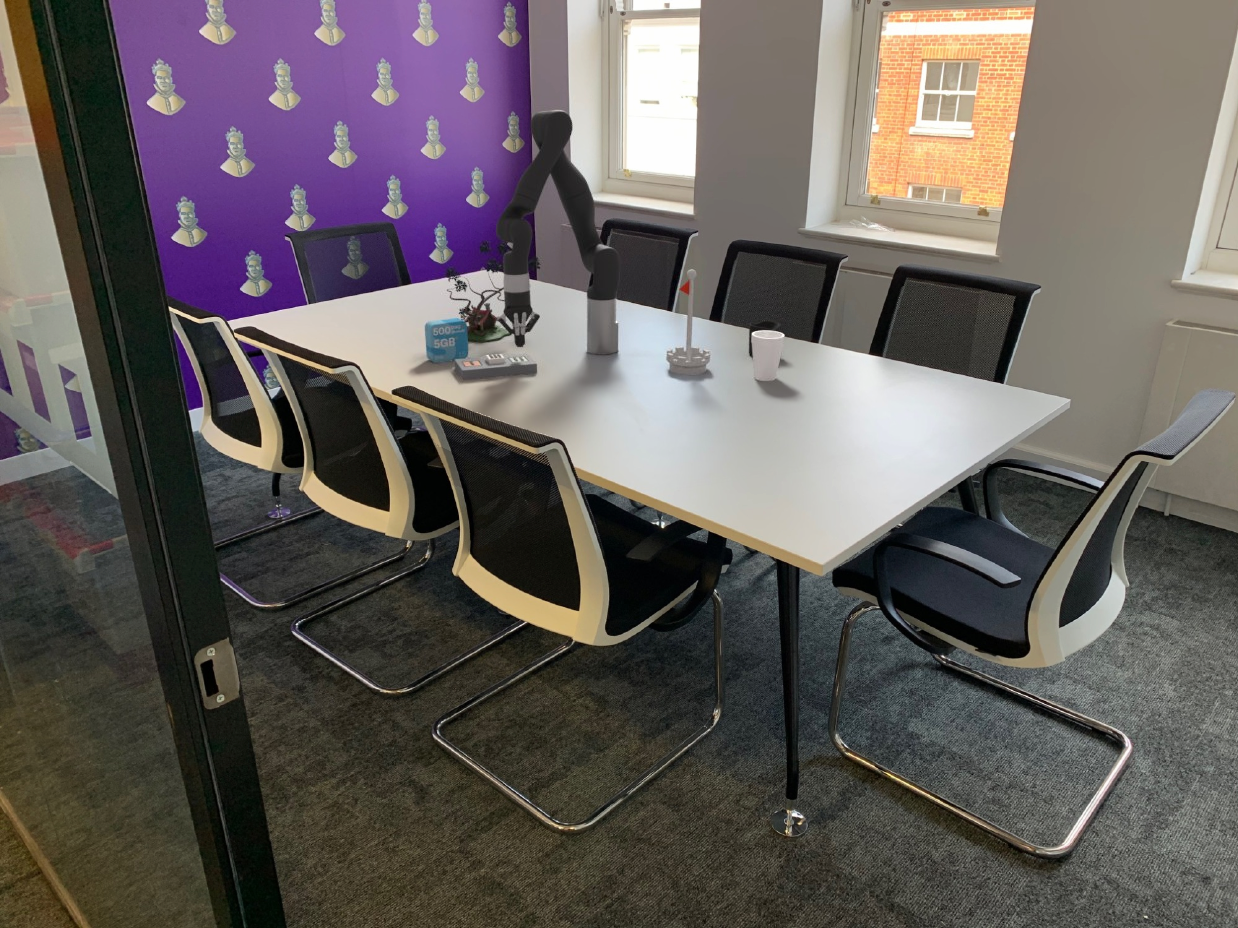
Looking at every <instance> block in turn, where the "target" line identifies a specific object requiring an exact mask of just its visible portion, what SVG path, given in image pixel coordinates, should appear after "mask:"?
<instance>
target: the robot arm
mask: <svg viewBox="0 0 1238 928" xmlns="http://www.w3.org/2000/svg"><path fill="white" fill-rule="evenodd" d="M573 126H574V125H573V120H572V118H571V116H570V115H569V114H568V112H567V111H565V110H562V109H552V110H543V111H538V112H536V113H535V114H534V115H533V116H532V118H531V121H530V131H531V136H532V139H533V140H534V142H535V145H536V146H537V149H538V150H539V151H538V153H537V154H536V156H535V158H534V159H533V160H532V162H531V163H530V164H529V165H528V167H527V168H526V169H525V170H524V172H523V173H522V175H521V177H520V179H519V181H518V182H517V186H516V188H515V191H514V193H513V196H512V199H511V201H509V203H508V204H507V206H506V207H505V208H504V210H503V212H502V213H501V215H500V217H499V218H498V220H497V223H496V228H495V233H496V236H497V238H498V240H500V241H501V242H505V243H509V244H512V247H511V249H512V250H511V251H509V252H508V251H507V252H506V251H505V252H506V253H505V252H504V253H505V254H503V255H502V256H503V258H502V261H503V263H502V264H503V266H504V270H503V273H504V274H503V287H504V289H503V295H504V297H503V298H504V299H503V300H505V301H504V309H503V313H502V314H501V315H500V316H496V317H497V320H498V321H499V323H500V325H501V326H502V327H503V329H506V330H507V331H508V332H509V333H510V335H513V337H514V338H513V339H514V345H515V346H516V348H524V346H525V345H526V336H525V335H526V333H530V332H532V330H533V328H534V326H535V325H536V324H537V322H538V321H539V319H540V317H541V316H540V314H538V313H537V312H535V311H534V310H533V307H532V301H531V281H530V274H529V271H528V270H529V267H528V260H529V259H528V258H529V254H530V251H531V250H530V249H531V245H532V239H533V228H532V226H531V223H530V222H529V220H526V219H525V218H524V217H525V216H528V215H531V214H533V213H534V212H535V211H536V208H537V205H538V203H539V200H540V198H541V195H542V193H543V190H544V187H545V185H546V183H547V180H548V178H549V176H551V179H552V181H553V184H554V186H555V189H556V191H557V194H558V196H559V199H560V203H561V205H562V207H563V210H564V212H565V215H566V217H567V219H568V222H569V224H570V226H571V229H572V231H573V234H574V237H575V240H576V243H577V247H578V250H579V254H580V258H581V260H582V263H583V267H584V268H585V269H586V271H588V272H589V273H591V274H593V276H592V277H593V278H592V279H593V280H592V285H591V286H589V287H588V288H587V290H586V351H587V352H588V353H590V354H593V355H610V354H614V353H618V352H619V322H618V321H617V294H618V291H619V288H620V278H621V277H620V276H621V257H620V255H619V253H618V251H617V250H616V249H615V248H613V247H610V246H607V245H606V244H605V245H604V243H603V241H602V239H601V237H600V236H599V233H598V230H597V227H596V221H595V218H596V217H595V213H596V212H595V210H596V205H595V200H594V197H593V194H592V191H591V189H590V186H589V183H588V182H587V180H586V178H585V176H584V175H583V173H582V172H581V171H580V170H579V169H578V168H577V167H576V166H575V165H574V163H573V162H572V161H571V159H570V158H569V157H568V155H567V153H566V152H565V150H564V149H565V147H566V146H567V144H568V142H569V140H570V139H571V136H572V133H573ZM529 318H530V319H529ZM507 320H509V321H510V322H511V326H512V328H511V327H510V326H509V324H508V323H507ZM498 321H497V322H498ZM527 321H528V322H527Z"/></svg>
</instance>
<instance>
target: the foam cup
mask: <svg viewBox="0 0 1238 928" xmlns="http://www.w3.org/2000/svg"><path fill="white" fill-rule="evenodd" d="M751 343H752V352H753V357H752V365H753V376H754V377H753V378H754V380H757V381H762V382H772V381H775V380H776V378H777V374H778V370H779V366H780V361H781V356H782V350H783V345H784V344H785V334H784V333H783V332H780V331H779V332H777V331H769V330H762V331H755V332H753V333H752V337H751Z"/></svg>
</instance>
